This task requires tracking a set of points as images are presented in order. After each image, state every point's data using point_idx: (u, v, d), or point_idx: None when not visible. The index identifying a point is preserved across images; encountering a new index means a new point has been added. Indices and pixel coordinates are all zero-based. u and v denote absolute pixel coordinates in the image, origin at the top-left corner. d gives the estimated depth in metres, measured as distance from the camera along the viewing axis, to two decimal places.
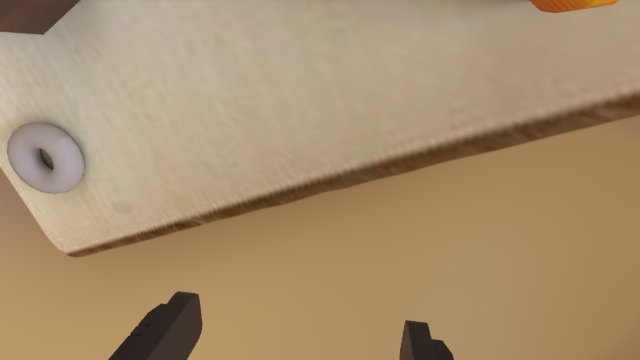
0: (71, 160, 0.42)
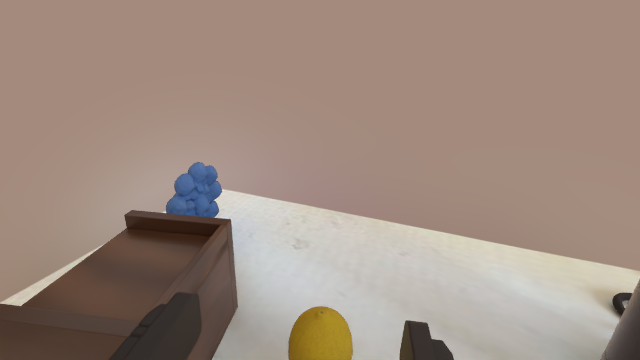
0: None
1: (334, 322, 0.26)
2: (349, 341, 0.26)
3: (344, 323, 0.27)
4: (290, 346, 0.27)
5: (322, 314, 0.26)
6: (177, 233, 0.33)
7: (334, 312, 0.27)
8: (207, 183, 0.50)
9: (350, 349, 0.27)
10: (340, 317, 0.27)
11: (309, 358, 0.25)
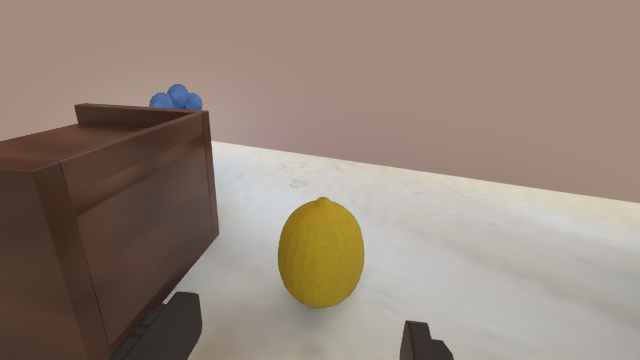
0: None
1: (339, 212, 0.19)
2: (360, 239, 0.19)
3: (353, 217, 0.20)
4: (280, 247, 0.20)
5: (323, 201, 0.19)
6: (140, 128, 0.26)
7: (340, 205, 0.20)
8: None
9: (361, 250, 0.20)
10: (348, 211, 0.20)
11: (305, 254, 0.18)
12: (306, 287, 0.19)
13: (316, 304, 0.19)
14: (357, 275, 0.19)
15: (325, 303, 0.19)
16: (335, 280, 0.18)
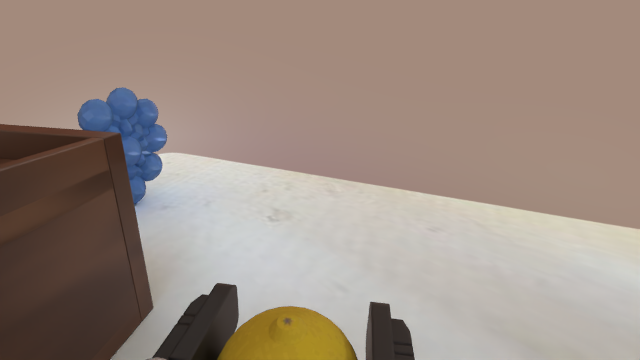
0: None
1: (320, 350, 0.10)
2: None
3: (347, 350, 0.10)
4: None
5: (287, 328, 0.10)
6: (13, 159, 0.17)
7: (322, 321, 0.11)
8: (141, 123, 0.33)
9: None
10: (337, 334, 0.11)
11: None
12: None
13: None
14: None
15: None
16: None
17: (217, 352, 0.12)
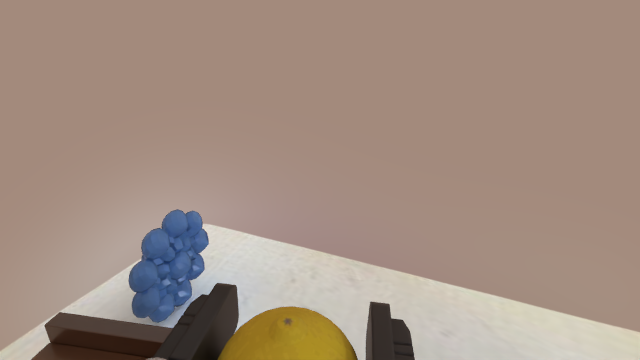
0: None
1: (320, 350, 0.10)
2: None
3: (347, 350, 0.10)
4: None
5: (287, 328, 0.10)
6: (126, 354, 0.21)
7: (322, 321, 0.11)
8: (189, 235, 0.38)
9: None
10: (337, 334, 0.11)
11: None
12: None
13: None
14: None
15: None
16: None
17: (217, 352, 0.12)
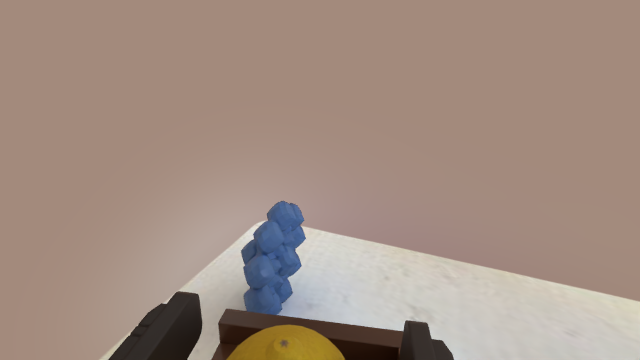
0: None
1: None
2: None
3: None
4: None
5: (284, 350, 0.10)
6: None
7: (318, 341, 0.11)
8: (290, 229, 0.36)
9: None
10: (333, 354, 0.11)
11: None
12: None
13: None
14: None
15: None
16: None
17: None
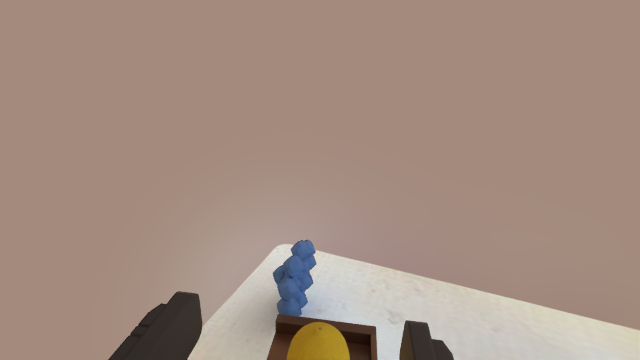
0: None
1: (332, 339, 0.26)
2: (347, 357, 0.27)
3: (342, 339, 0.27)
4: None
5: (320, 331, 0.26)
6: None
7: (332, 328, 0.28)
8: (306, 258, 0.52)
9: None
10: (338, 333, 0.27)
11: None
12: None
13: None
14: None
15: None
16: None
17: None
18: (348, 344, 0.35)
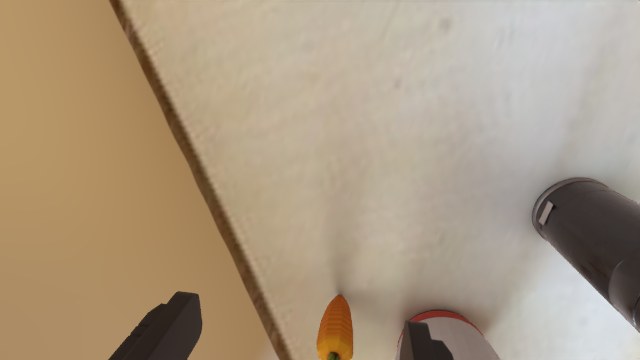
0: None
1: None
2: None
3: None
4: None
5: None
6: None
7: None
8: None
9: None
10: None
11: None
12: None
13: None
14: None
15: None
16: None
17: None
18: None
